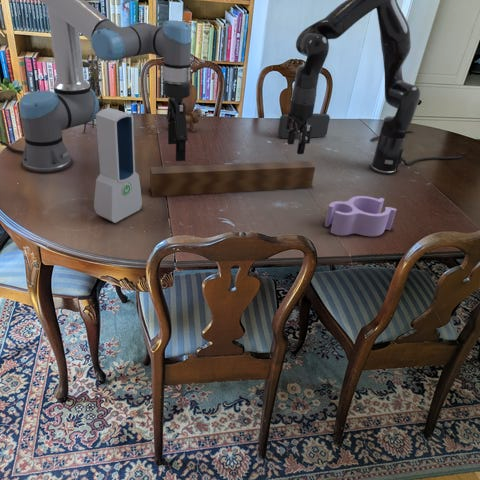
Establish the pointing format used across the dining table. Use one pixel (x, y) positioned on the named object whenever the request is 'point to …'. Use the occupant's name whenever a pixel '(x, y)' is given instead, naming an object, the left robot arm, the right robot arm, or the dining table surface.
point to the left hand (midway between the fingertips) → (176, 151)
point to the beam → (230, 178)
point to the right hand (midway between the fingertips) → (295, 148)
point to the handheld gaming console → (317, 122)
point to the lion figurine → (193, 118)
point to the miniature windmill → (94, 82)
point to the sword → (378, 137)
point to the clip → (359, 216)
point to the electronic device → (116, 166)
